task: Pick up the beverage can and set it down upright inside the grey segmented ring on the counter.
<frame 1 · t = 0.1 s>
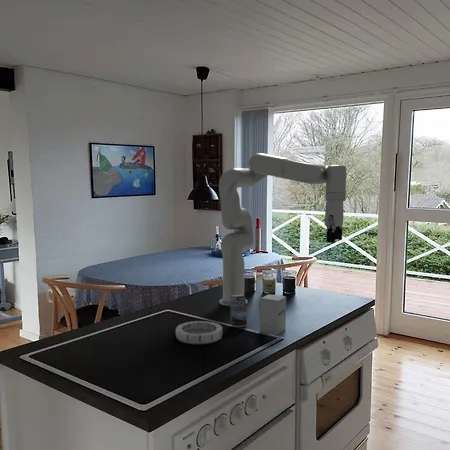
hand: (334, 240, 179), 31 cm above the worktop, tool pointing down, fingers open, 9 cm apart
beverage can: (238, 326, 172), on the worktop
grey segmented ring: (199, 336, 160), on the worktop
supplement box: (272, 331, 167), on the worktop
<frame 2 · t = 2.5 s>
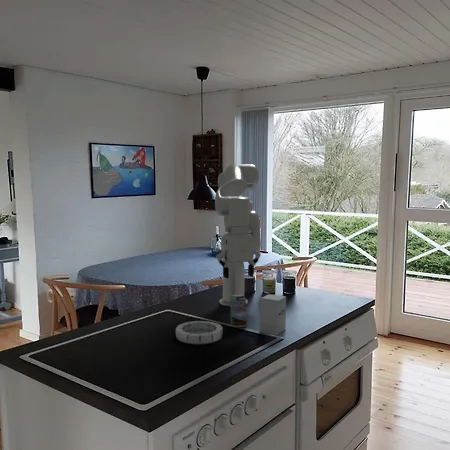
hand: (238, 276, 170), 19 cm above the worktop, tool pointing down, fingers open, 9 cm apart
nothing on the worktop moved.
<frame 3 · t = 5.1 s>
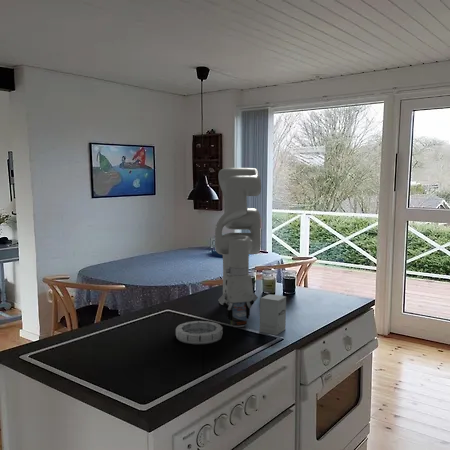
hand: (238, 318, 172), 3 cm above the worktop, tool pointing down, fingers closed on beverage can, 6 cm apart
beverage can: (238, 326, 172), on the worktop, touching gripper
everything else where it was.
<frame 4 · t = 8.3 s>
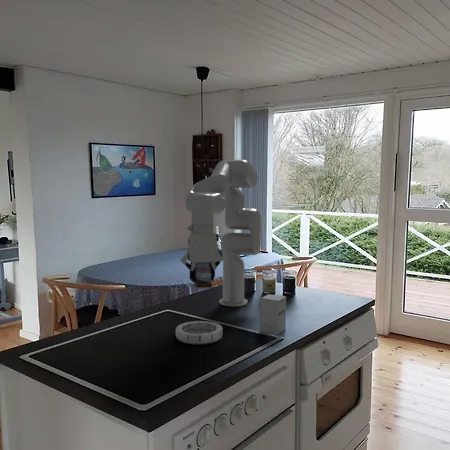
hand: (202, 280, 159), 20 cm above the worktop, tool pointing down, fingers closed on beverage can, 6 cm apart
beverage can: (202, 289, 160), point 17 cm above the worktop, touching gripper
everything else where it was.
when the fingers open (5 cm above the worktop, at t = 11.7 s): beverage can drops 1 cm, resting on grey segmented ring.
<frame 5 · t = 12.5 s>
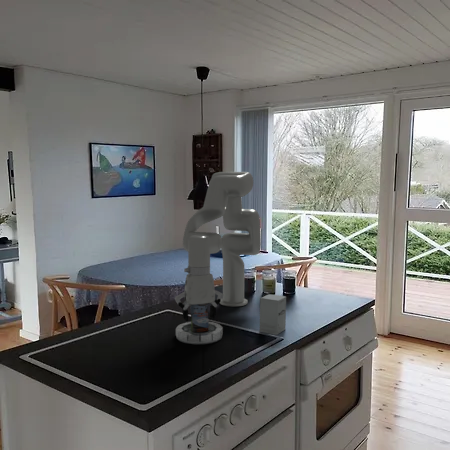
hand: (199, 318, 160), 6 cm above the worktop, tool pointing down, fingers open, 9 cm apart
beverage can: (199, 334, 161), point 1 cm above the worktop, touching grey segmented ring
everything else where it was.
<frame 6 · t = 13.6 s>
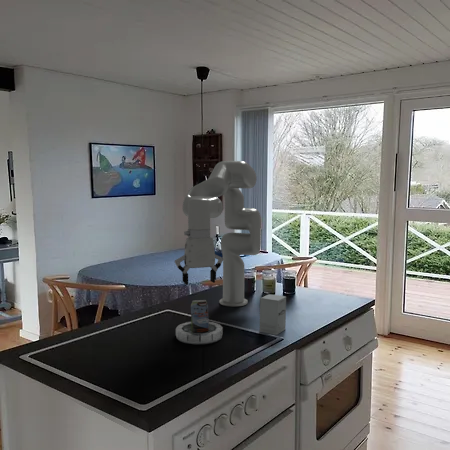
hand: (199, 282, 159), 19 cm above the worktop, tool pointing down, fingers open, 9 cm apart
nothing on the worktop moved.
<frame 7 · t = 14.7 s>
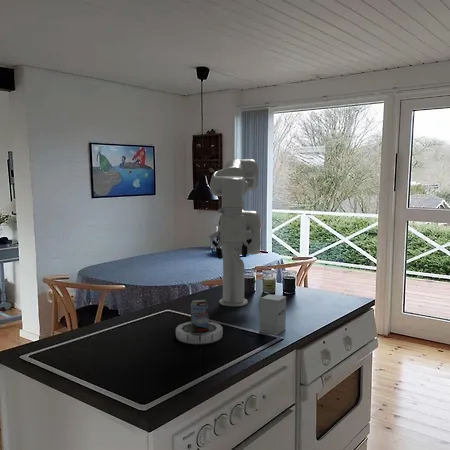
hand: (231, 257, 170), 26 cm above the worktop, tool pointing down, fingers open, 9 cm apart
nothing on the worktop moved.
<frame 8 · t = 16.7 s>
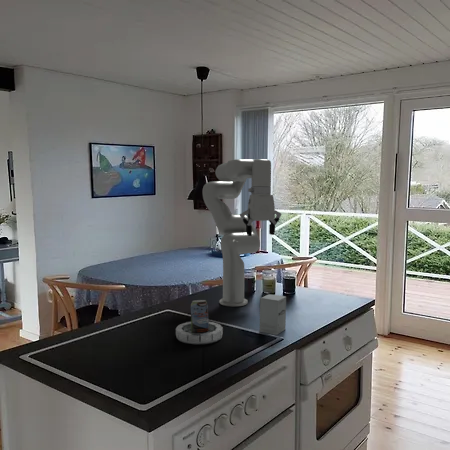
hand: (260, 235, 179), 33 cm above the worktop, tool pointing down, fingers open, 9 cm apart
nothing on the worktop moved.
at the end: beverage can 0.3 cm off-centre on the grey segmented ring, point 0.6 cm above the grey segmented ring's base; beverage can tilted 1°; the gripper is holding nothing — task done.
